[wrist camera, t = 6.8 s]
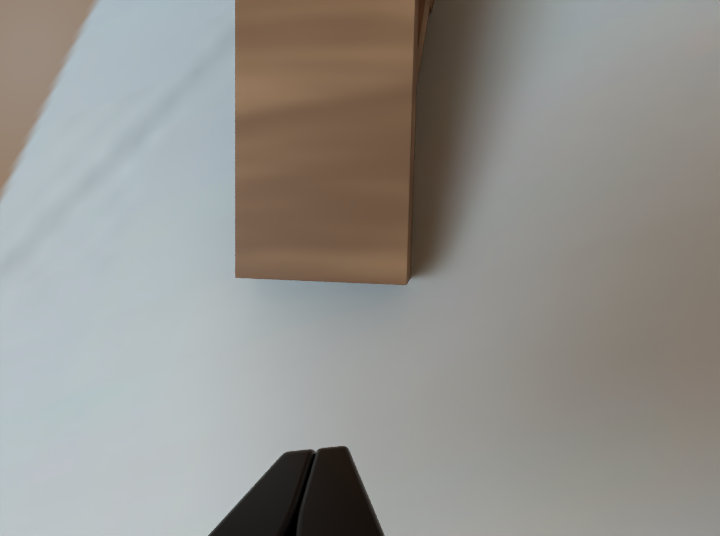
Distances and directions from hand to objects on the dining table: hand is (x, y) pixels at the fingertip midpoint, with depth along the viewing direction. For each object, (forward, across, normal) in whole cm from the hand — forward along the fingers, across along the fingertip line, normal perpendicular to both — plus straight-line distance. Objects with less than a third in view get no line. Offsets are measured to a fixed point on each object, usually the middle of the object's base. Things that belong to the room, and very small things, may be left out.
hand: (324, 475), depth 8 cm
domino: (+10, +1, +1) cm, 11 cm away
